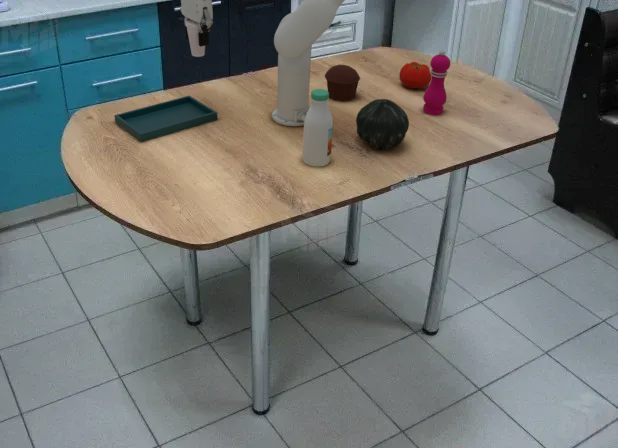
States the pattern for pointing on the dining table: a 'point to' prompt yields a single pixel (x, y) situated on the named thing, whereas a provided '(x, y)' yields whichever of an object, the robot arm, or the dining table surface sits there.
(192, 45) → the smoothie
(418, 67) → the tomato
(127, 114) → the tray
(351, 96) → the muffin
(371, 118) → the squash
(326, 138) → the milk bottle
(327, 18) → the robot arm
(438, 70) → the pepper mill
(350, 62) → the dining table surface
